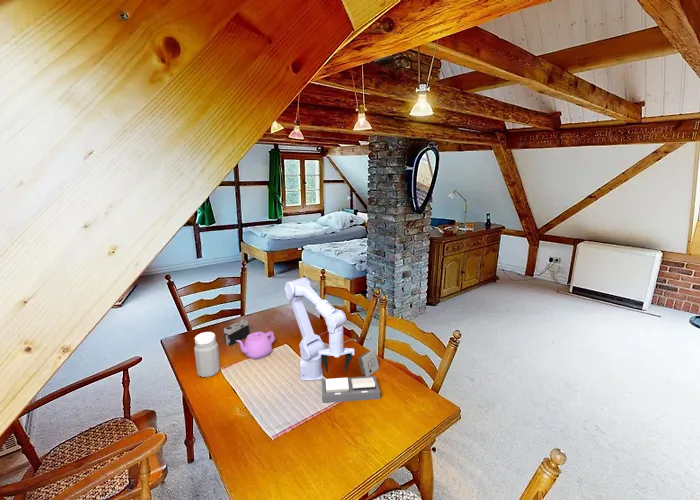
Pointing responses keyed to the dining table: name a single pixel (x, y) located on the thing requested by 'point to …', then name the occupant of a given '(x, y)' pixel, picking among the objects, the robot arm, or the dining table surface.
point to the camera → (236, 332)
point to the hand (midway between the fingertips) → (336, 370)
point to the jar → (206, 354)
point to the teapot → (257, 344)
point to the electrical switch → (368, 363)
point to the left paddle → (337, 385)
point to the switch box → (351, 392)
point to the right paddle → (363, 382)
